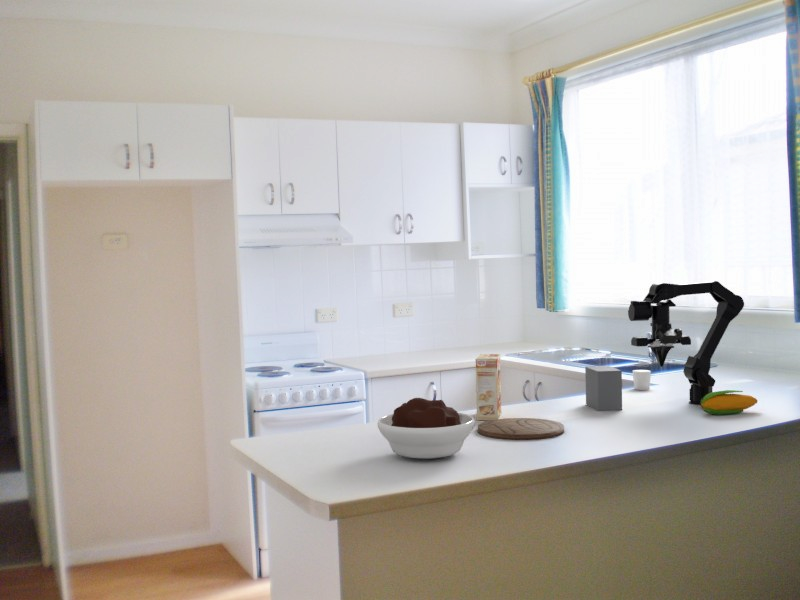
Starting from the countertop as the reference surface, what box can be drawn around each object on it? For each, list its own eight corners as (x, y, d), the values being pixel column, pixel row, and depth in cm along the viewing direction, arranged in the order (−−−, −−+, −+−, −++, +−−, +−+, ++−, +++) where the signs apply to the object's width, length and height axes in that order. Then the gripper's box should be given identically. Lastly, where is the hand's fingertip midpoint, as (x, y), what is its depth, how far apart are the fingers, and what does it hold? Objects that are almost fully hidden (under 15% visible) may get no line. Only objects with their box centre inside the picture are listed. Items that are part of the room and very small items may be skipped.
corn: (694, 389, 262) (748, 385, 267) (693, 413, 262) (748, 408, 268) (709, 394, 255) (764, 390, 260) (708, 418, 255) (763, 414, 260)
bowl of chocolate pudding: (443, 441, 230) (441, 387, 229) (494, 458, 208) (493, 399, 207) (362, 453, 218) (360, 396, 218) (407, 472, 196) (406, 409, 196)
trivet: (497, 444, 226) (496, 437, 226) (465, 427, 250) (465, 421, 250) (579, 437, 233) (579, 430, 233) (541, 421, 257) (541, 415, 257)
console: (608, 403, 284) (608, 365, 284) (622, 409, 271) (621, 370, 271) (586, 404, 284) (585, 366, 283) (598, 410, 271) (597, 371, 270)
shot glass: (629, 388, 318) (628, 370, 318) (644, 386, 320) (644, 368, 320) (639, 390, 311) (639, 372, 311) (655, 389, 313) (654, 370, 313)
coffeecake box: (498, 420, 258) (497, 358, 257) (475, 420, 260) (474, 358, 259) (502, 412, 273) (501, 353, 272) (480, 412, 274) (479, 353, 273)
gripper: (642, 322, 269) (643, 370, 270) (698, 320, 271) (698, 368, 271) (630, 320, 280) (630, 366, 281) (683, 318, 282) (684, 364, 282)
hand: (661, 366), depth 278 cm, fingers closed
